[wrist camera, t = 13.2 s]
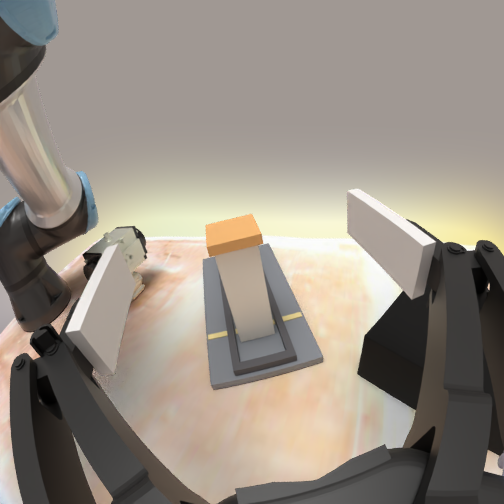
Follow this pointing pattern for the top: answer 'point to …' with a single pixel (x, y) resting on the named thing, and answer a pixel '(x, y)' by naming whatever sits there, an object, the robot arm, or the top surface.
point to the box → (409, 356)
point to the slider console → (261, 349)
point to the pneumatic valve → (130, 247)
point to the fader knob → (242, 274)
